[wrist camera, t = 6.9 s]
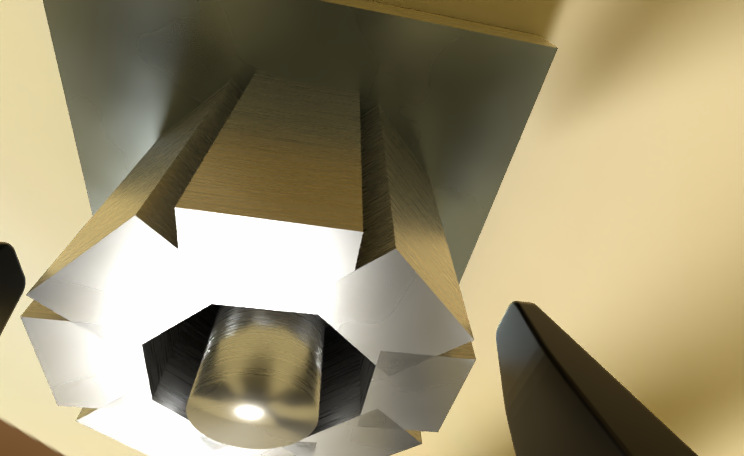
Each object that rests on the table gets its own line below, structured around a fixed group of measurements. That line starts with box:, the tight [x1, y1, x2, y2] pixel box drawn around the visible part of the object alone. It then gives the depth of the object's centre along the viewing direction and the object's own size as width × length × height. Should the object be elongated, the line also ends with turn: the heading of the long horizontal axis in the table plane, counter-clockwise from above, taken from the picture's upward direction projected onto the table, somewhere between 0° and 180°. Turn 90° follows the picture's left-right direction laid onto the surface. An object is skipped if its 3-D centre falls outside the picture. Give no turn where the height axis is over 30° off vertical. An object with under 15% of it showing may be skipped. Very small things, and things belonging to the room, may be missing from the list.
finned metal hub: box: [43, 0, 558, 449], centre depth 8 cm, size 9×9×6 cm
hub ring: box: [21, 74, 476, 456], centre depth 8 cm, size 6×6×4 cm
